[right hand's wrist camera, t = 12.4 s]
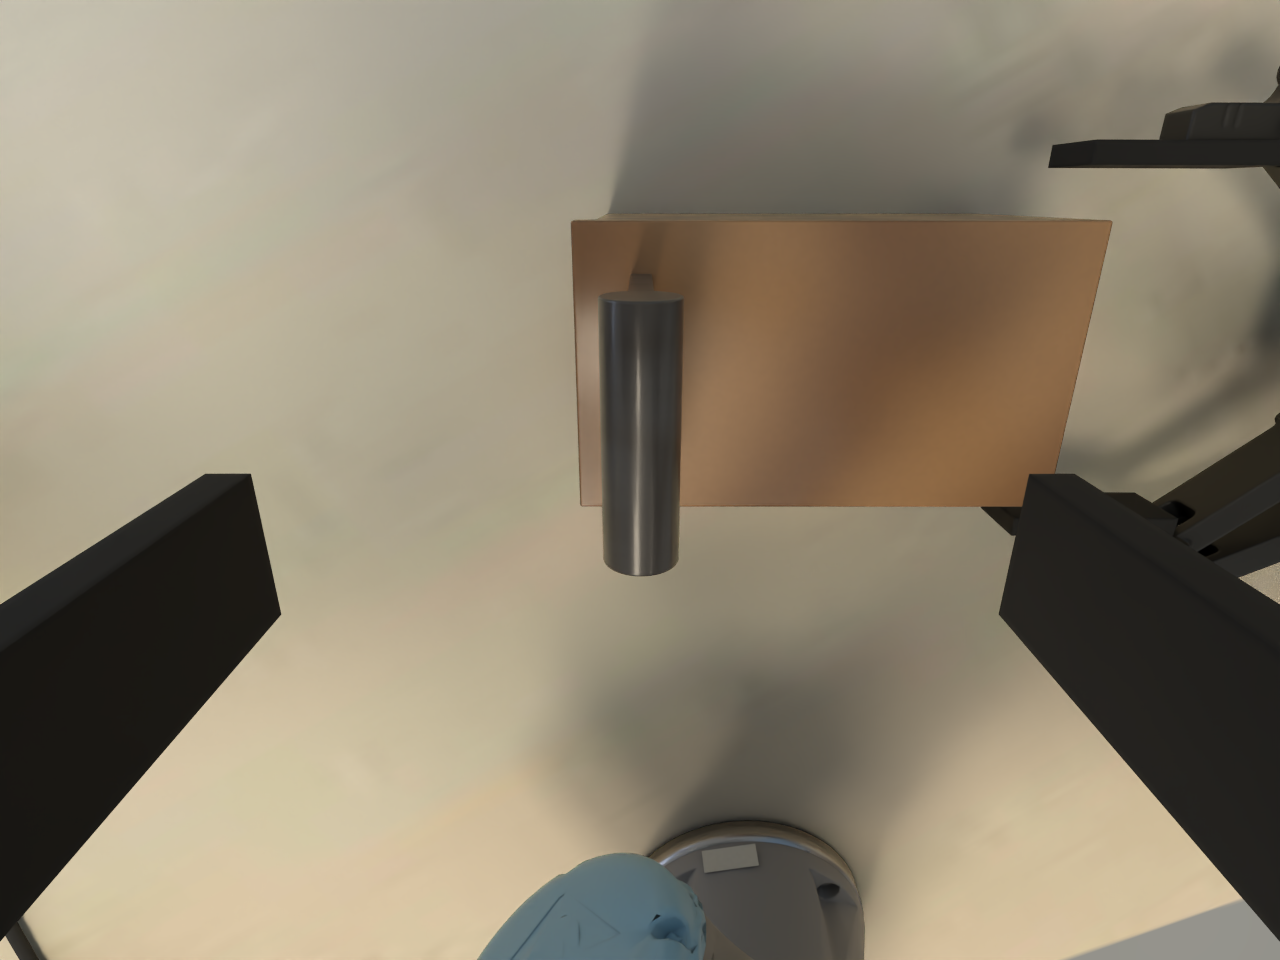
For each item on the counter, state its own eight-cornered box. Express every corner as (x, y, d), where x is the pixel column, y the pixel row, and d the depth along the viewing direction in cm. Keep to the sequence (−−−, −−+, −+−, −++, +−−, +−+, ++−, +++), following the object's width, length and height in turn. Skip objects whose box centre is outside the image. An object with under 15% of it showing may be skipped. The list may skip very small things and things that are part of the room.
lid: (582, 496, 27) (556, 625, 19) (573, 219, 23) (537, 231, 15) (1033, 496, 27) (1203, 626, 19) (1094, 219, 23) (1338, 232, 15)
